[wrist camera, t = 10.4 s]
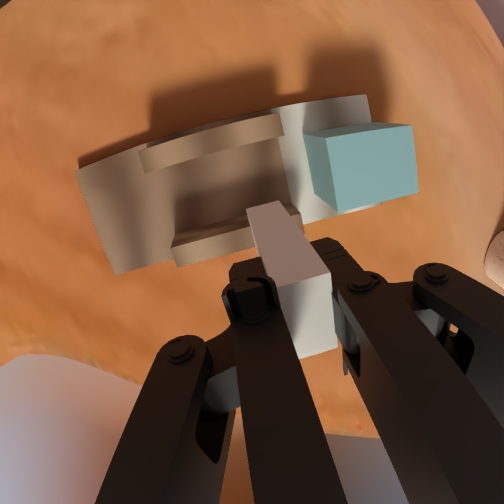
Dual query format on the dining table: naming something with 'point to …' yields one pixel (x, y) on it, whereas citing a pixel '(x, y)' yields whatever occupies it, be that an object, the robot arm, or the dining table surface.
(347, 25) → the dining table surface
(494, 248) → the teacup with lid
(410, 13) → the dining table surface
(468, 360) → the robot arm
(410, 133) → the teal block
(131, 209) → the walnut board
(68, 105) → the dining table surface
